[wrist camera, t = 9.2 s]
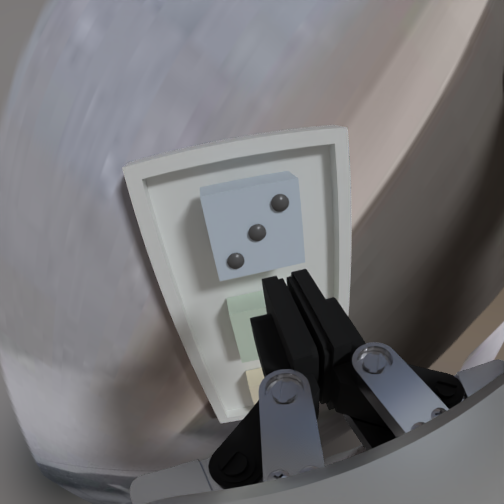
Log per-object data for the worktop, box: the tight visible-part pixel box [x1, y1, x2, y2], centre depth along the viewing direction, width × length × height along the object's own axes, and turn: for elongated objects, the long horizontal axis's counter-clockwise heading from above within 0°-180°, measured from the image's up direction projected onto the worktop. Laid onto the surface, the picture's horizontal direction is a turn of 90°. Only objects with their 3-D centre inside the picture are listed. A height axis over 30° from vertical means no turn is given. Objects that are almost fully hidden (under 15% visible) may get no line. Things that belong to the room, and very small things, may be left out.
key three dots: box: [200, 171, 305, 281], centre depth 18 cm, size 5×5×2 cm
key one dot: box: [226, 290, 267, 363], centre depth 23 cm, size 5×5×2 cm
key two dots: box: [246, 368, 264, 405], centre depth 27 cm, size 5×5×2 cm
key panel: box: [122, 125, 352, 423], centre depth 24 cm, size 14×28×2 cm, turn 9°
